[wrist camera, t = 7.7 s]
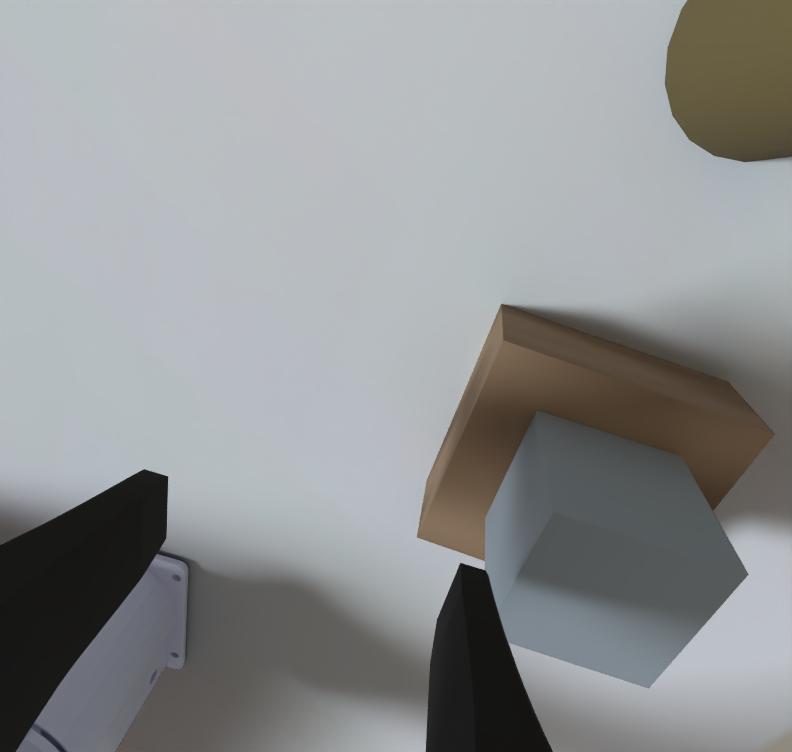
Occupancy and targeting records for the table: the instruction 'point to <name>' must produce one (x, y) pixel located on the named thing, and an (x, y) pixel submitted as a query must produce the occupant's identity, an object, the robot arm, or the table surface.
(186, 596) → the robot arm
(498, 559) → the slate cube
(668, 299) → the table surface
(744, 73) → the cork
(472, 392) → the walnut block
